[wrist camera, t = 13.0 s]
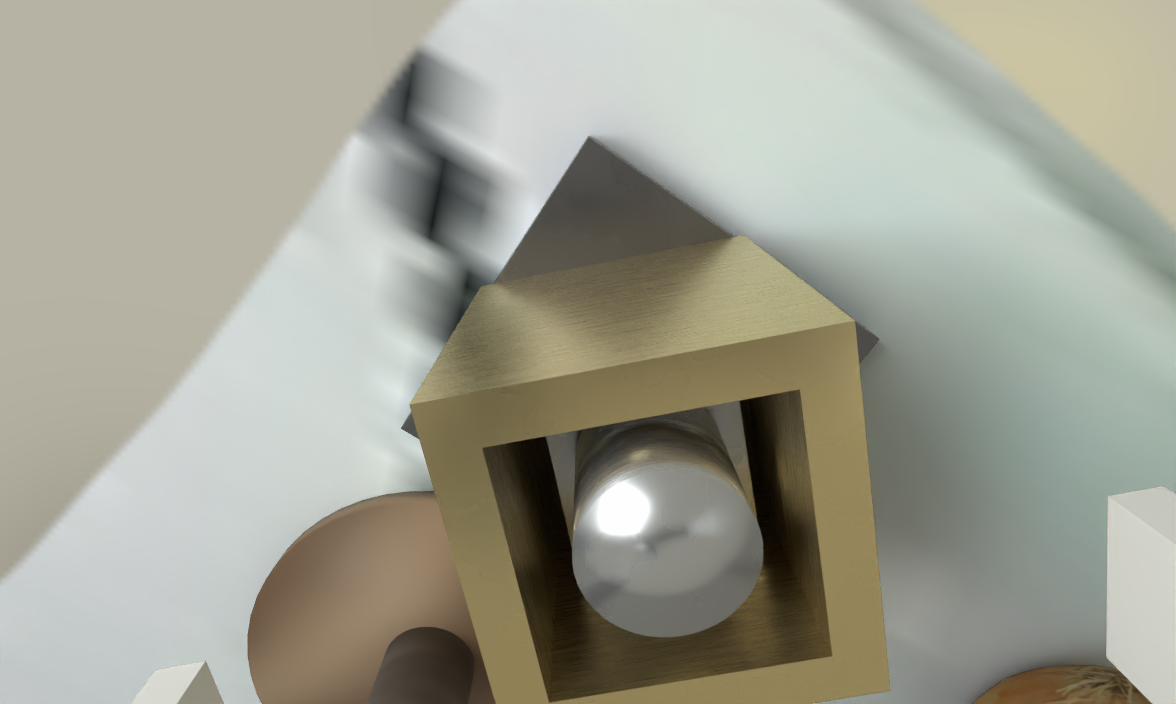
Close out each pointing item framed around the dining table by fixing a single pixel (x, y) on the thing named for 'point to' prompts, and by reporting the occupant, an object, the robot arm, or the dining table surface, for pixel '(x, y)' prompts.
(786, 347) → the brass sleeve
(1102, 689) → the onion
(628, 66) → the dining table surface
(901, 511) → the dining table surface
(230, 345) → the dining table surface
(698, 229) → the knob-topped grey block
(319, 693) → the rod stand
